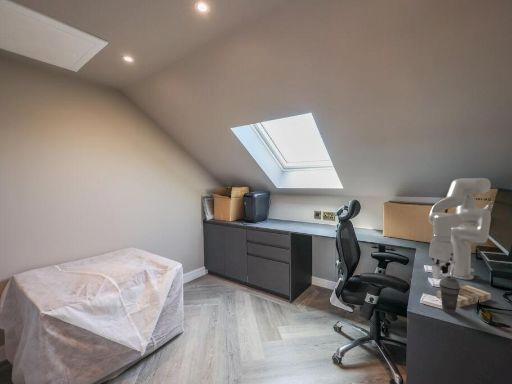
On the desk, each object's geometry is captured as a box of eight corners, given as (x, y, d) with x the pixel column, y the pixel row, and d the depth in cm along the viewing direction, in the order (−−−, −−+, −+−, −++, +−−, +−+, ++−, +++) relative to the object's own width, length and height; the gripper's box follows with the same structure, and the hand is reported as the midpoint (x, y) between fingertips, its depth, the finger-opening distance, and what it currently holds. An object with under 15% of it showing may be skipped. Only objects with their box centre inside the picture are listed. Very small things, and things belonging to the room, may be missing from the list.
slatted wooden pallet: (467, 290, 126) (467, 285, 126) (490, 299, 117) (490, 293, 116) (436, 297, 120) (436, 291, 119) (458, 307, 110) (459, 300, 110)
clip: (444, 274, 132) (445, 262, 131) (450, 276, 129) (451, 264, 128) (431, 277, 129) (431, 264, 128) (437, 279, 126) (437, 266, 125)
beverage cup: (443, 305, 112) (444, 263, 111) (462, 313, 105) (464, 268, 104) (435, 309, 108) (436, 266, 107) (454, 317, 102) (456, 271, 101)
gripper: (421, 235, 134) (421, 267, 135) (453, 243, 118) (452, 279, 120) (431, 234, 136) (431, 265, 138) (464, 241, 121) (463, 276, 122)
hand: (441, 271), depth 129 cm, fingers closed on clip, 3 cm apart
